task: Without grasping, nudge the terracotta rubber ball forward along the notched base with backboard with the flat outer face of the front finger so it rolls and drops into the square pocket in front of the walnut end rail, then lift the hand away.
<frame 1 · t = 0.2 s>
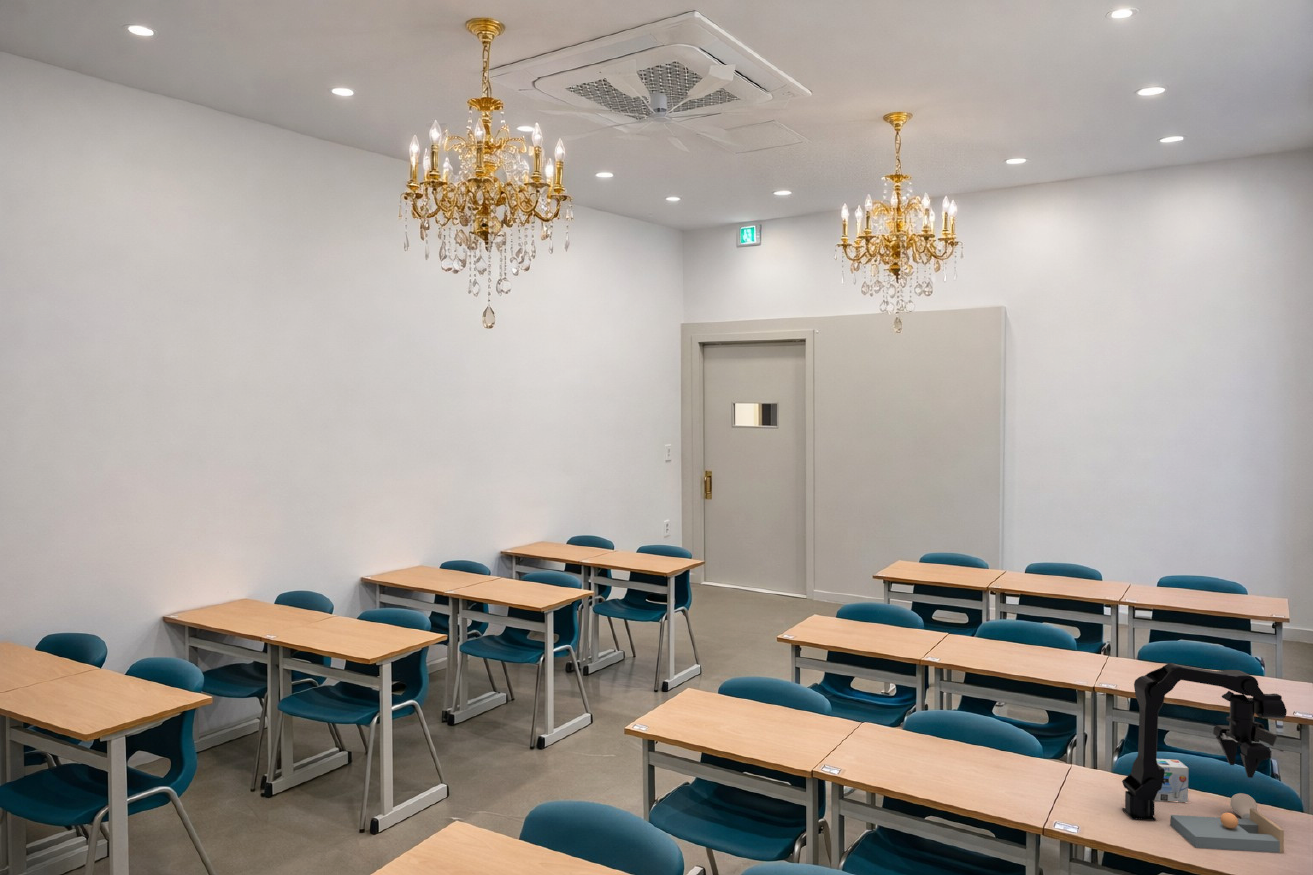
hand: (1240, 770, 238), 14 cm above the table, fingers open, 9 cm apart
notched base with backboard: (1225, 838, 227), on the table
ball: (1229, 820, 227), point 5 cm above the table, touching notched base with backboard
light bulb: (1244, 819, 239), on the table
light bulb box: (1164, 798, 253), on the table
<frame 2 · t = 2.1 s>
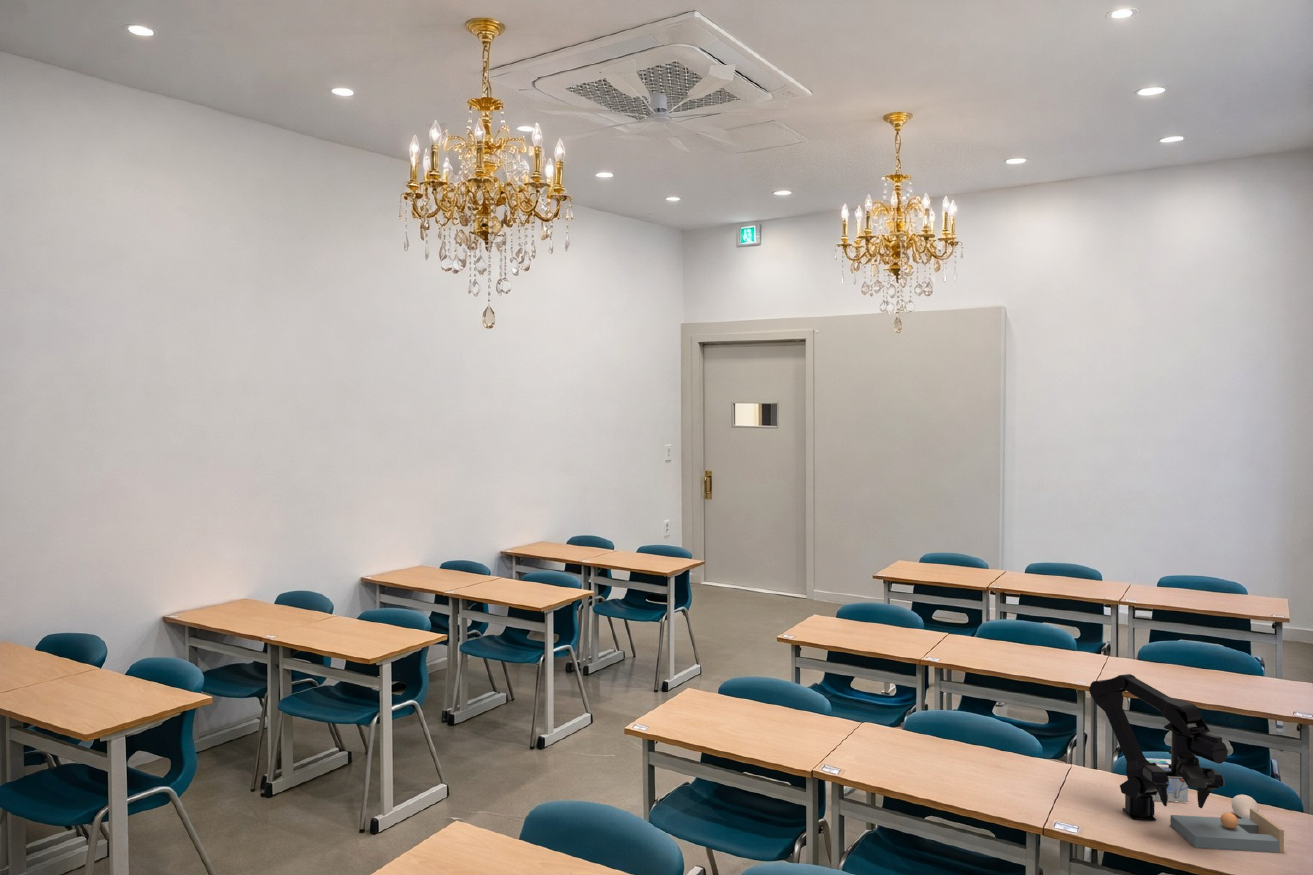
hand: (1182, 806, 228), 8 cm above the table, fingers open, 9 cm apart
light bulb: (1246, 821, 238), on the table
everything else where it was.
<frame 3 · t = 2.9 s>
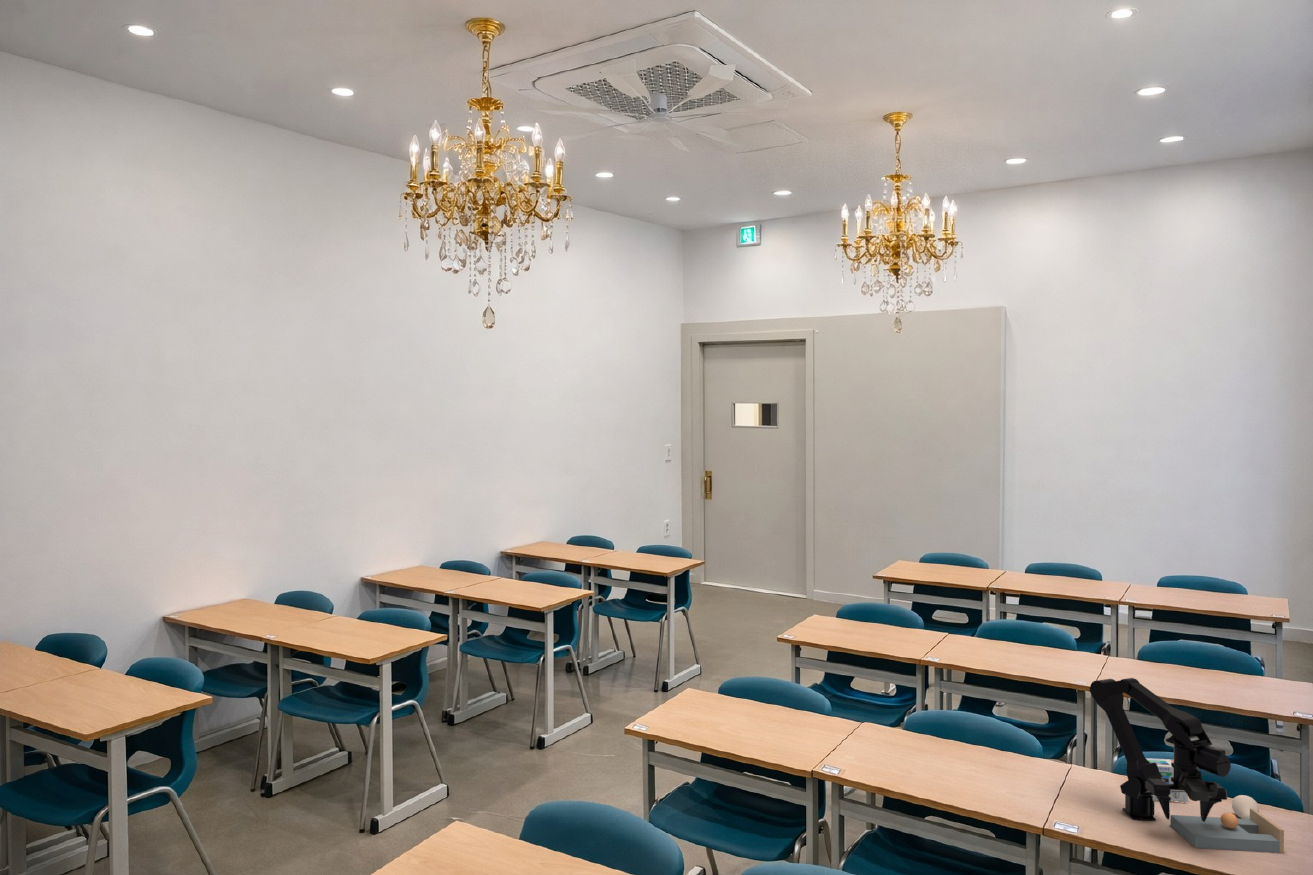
hand: (1185, 819, 228), 5 cm above the table, fingers open, 9 cm apart
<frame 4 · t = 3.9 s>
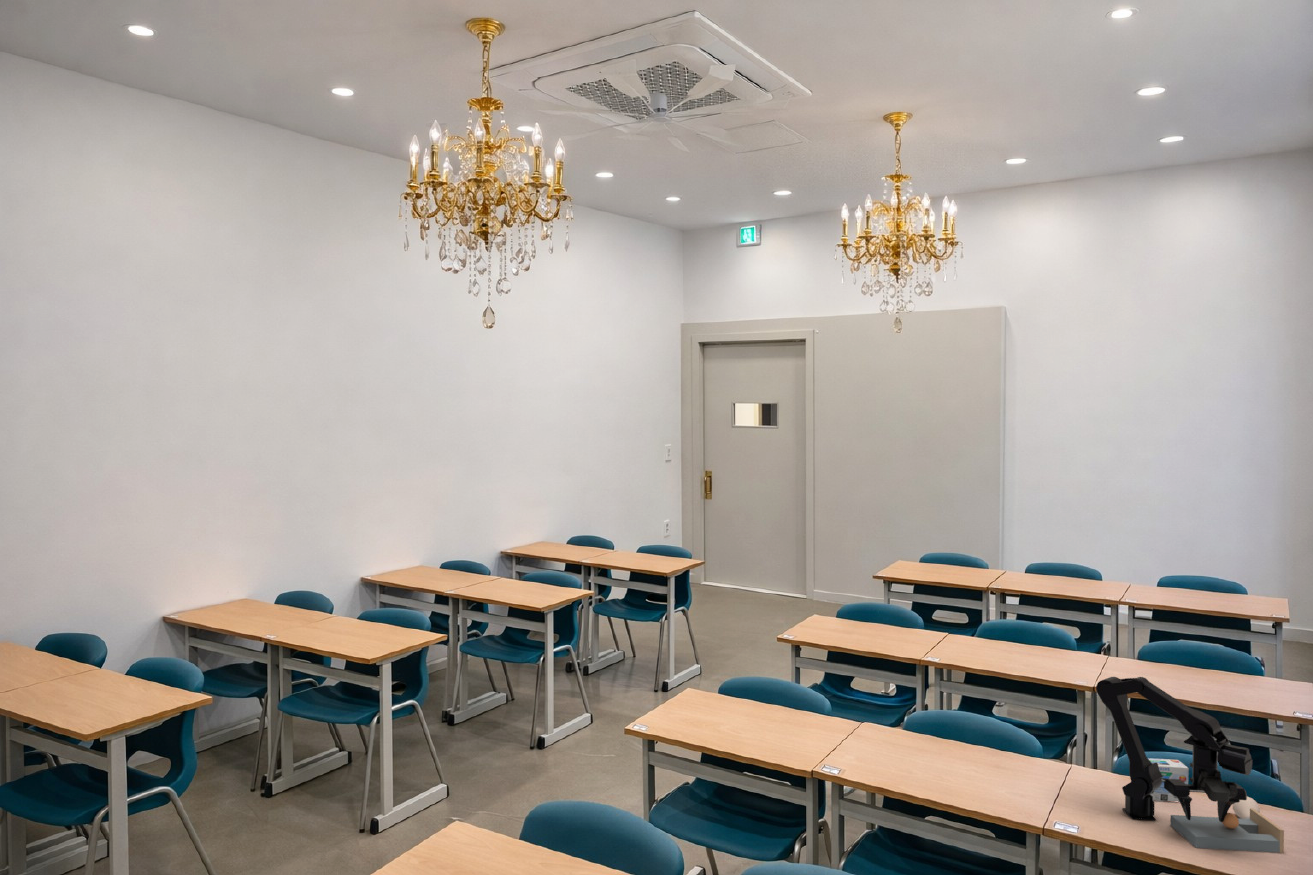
hand: (1204, 820, 227), 5 cm above the table, fingers open, 8 cm apart
ball: (1229, 820, 227), point 5 cm above the table, touching notched base with backboard, gripper
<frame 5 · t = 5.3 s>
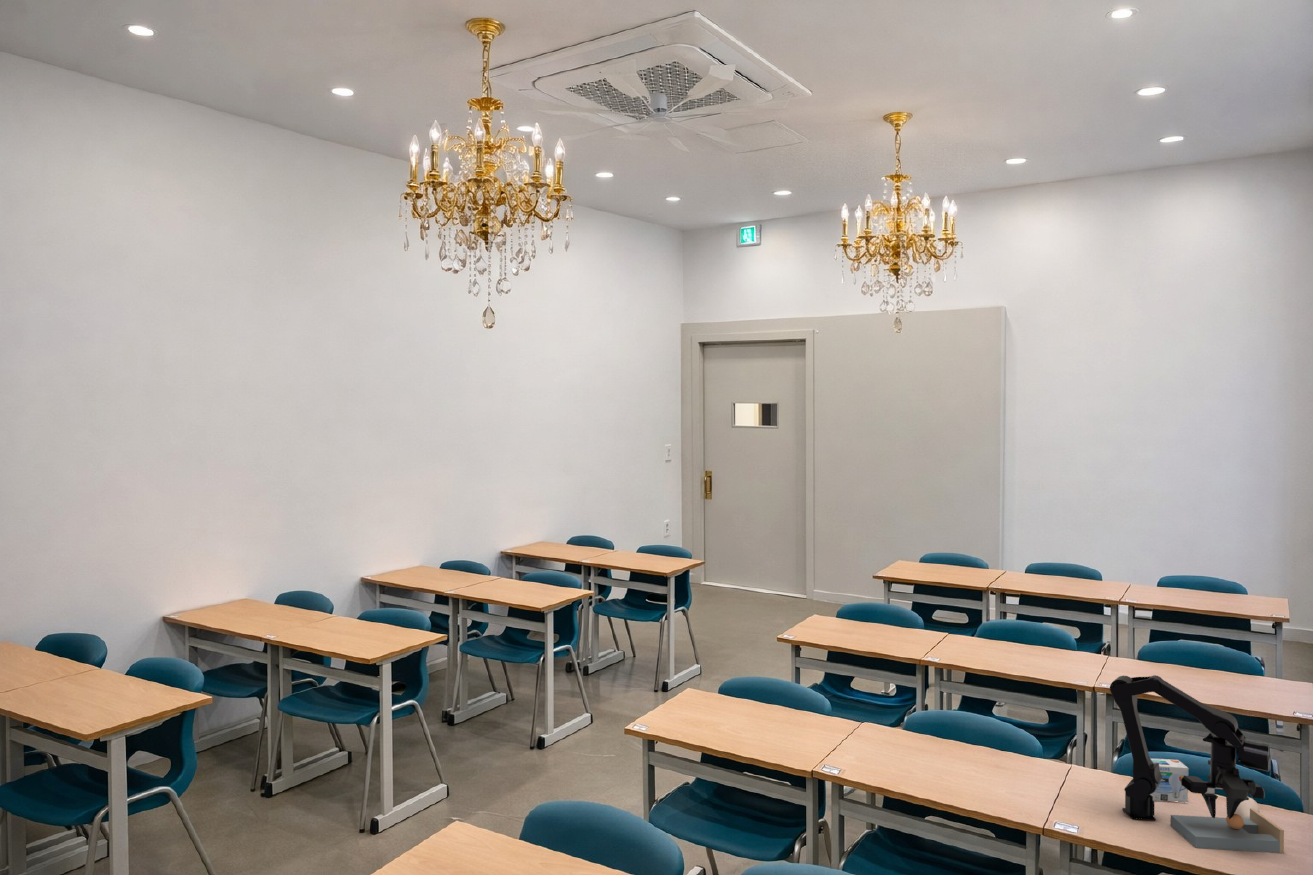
hand: (1221, 818, 227), 6 cm above the table, fingers open, 4 cm apart
ball: (1234, 821, 227), point 5 cm above the table, tilted 41°, touching notched base with backboard, gripper
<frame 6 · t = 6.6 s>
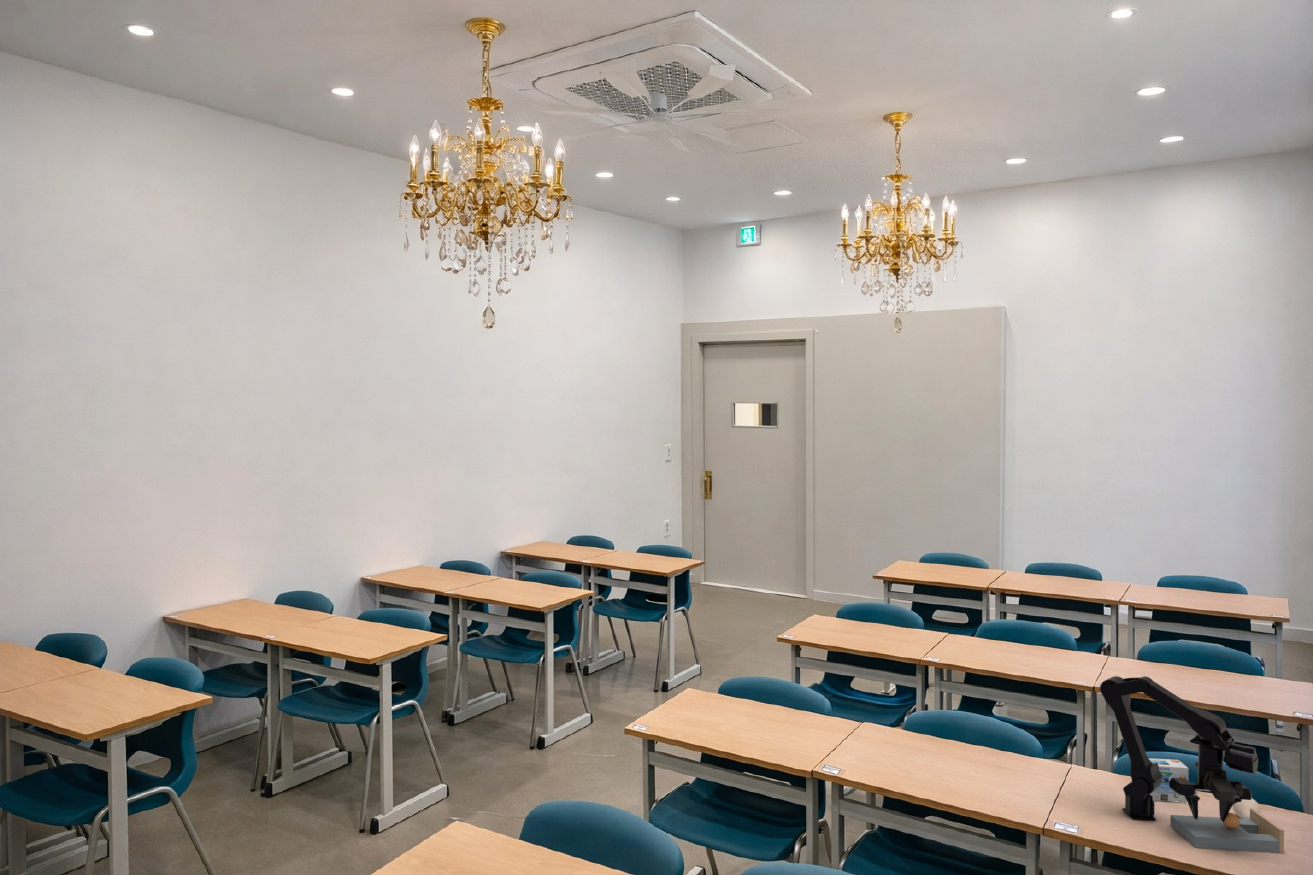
hand: (1209, 819, 227), 5 cm above the table, fingers open, 7 cm apart
ball: (1230, 820, 227), point 5 cm above the table, tilted 12°, touching notched base with backboard, gripper
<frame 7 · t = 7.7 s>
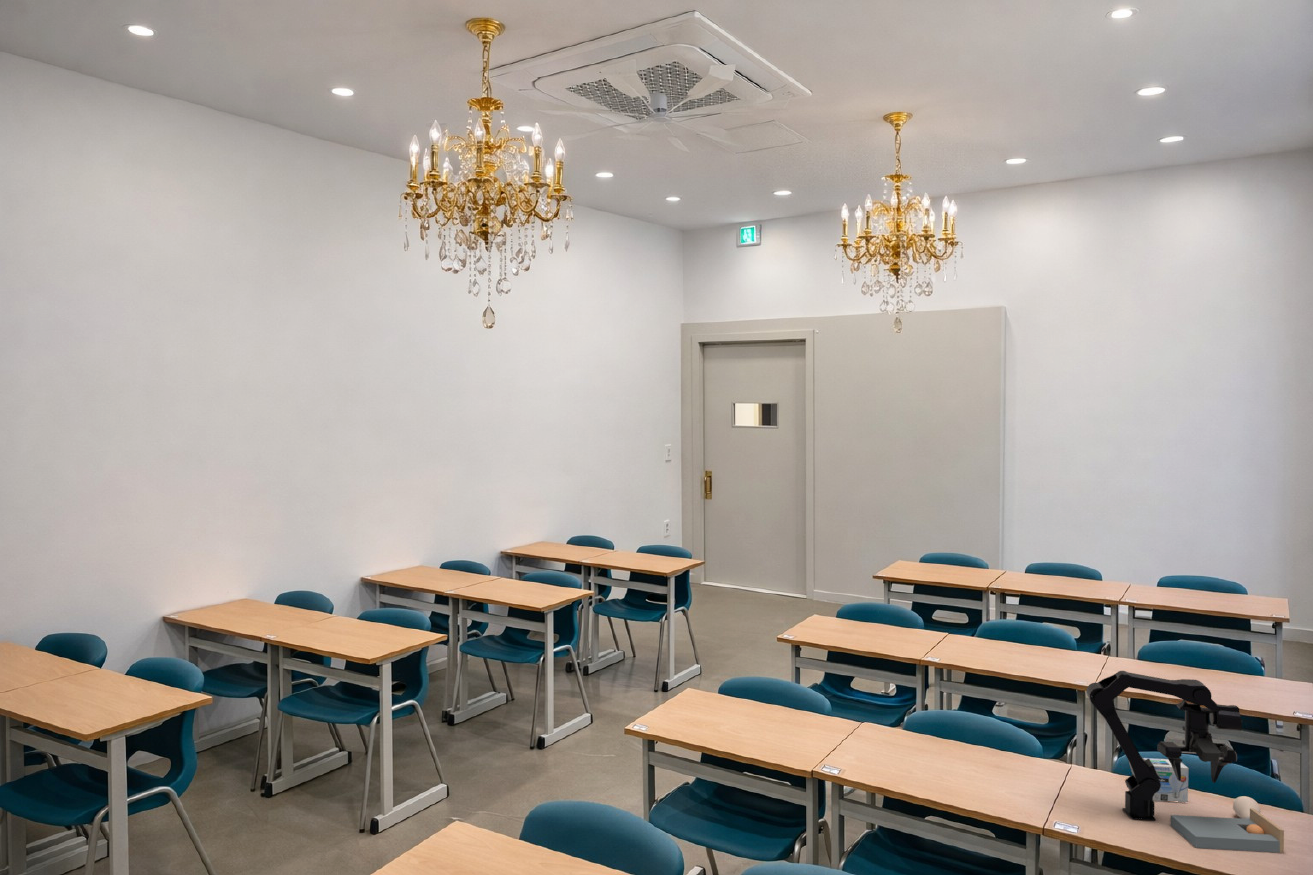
hand: (1196, 781, 236), 12 cm above the table, fingers open, 9 cm apart
ball: (1255, 832, 227), point 2 cm above the table, tilted 126°
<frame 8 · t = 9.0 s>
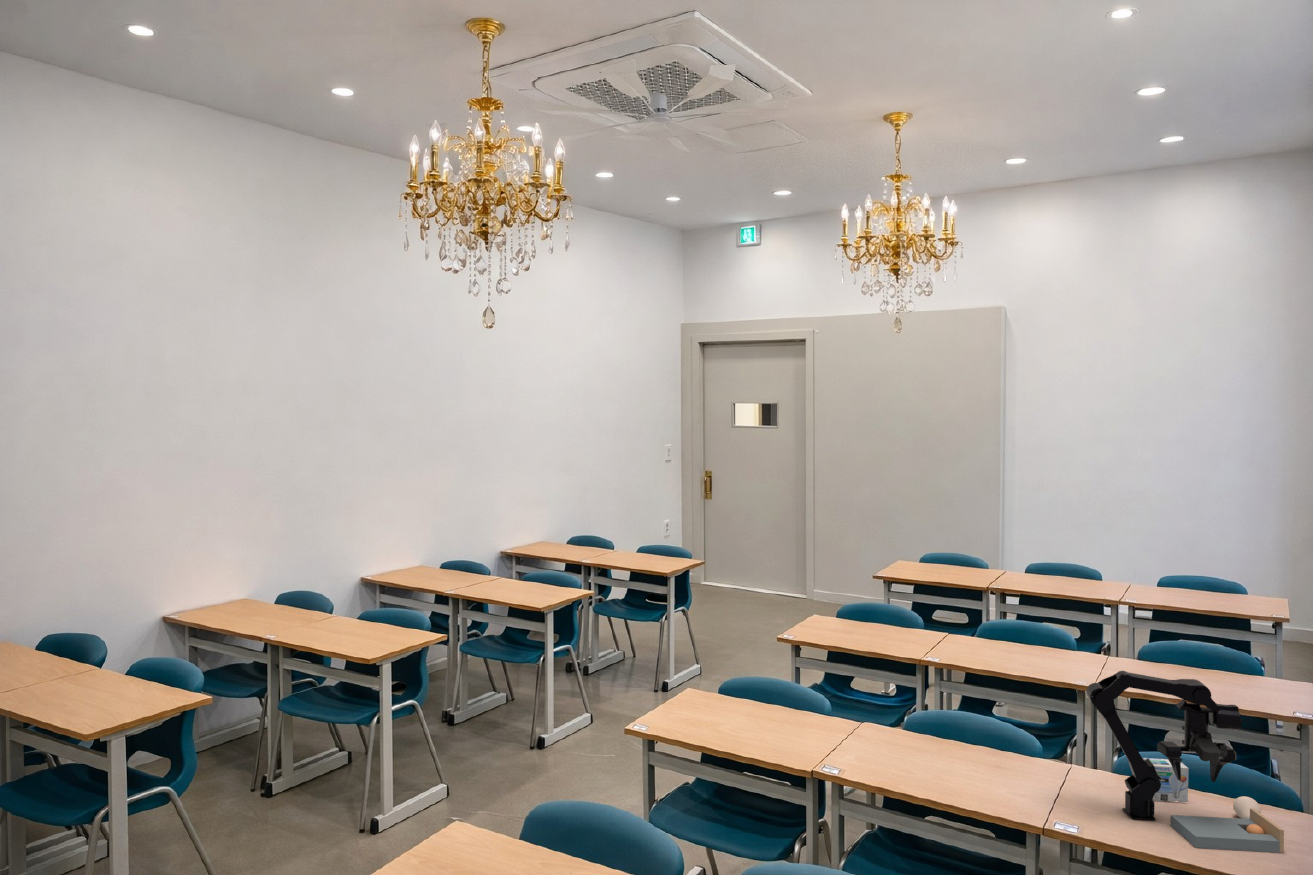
hand: (1195, 780, 236), 12 cm above the table, fingers open, 9 cm apart
at the end: ball 0.9 cm from the target spot on the notched base with backboard, point 2.0 cm above the notched base with backboard's base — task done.
